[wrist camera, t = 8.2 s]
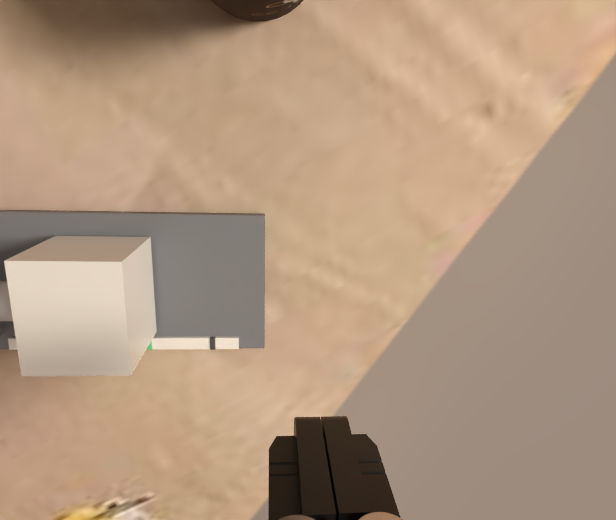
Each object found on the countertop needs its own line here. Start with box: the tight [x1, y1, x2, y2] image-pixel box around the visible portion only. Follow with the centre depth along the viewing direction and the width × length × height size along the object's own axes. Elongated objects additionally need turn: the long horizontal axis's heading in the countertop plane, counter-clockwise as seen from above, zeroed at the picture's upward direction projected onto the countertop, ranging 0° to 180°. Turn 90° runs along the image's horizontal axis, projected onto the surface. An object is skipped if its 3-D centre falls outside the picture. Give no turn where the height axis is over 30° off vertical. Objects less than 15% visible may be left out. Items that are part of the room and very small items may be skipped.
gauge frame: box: [0, 210, 265, 350], centre depth 25 cm, size 17×8×6 cm, turn 89°
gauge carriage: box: [0, 236, 157, 376], centre depth 24 cm, size 7×7×5 cm
